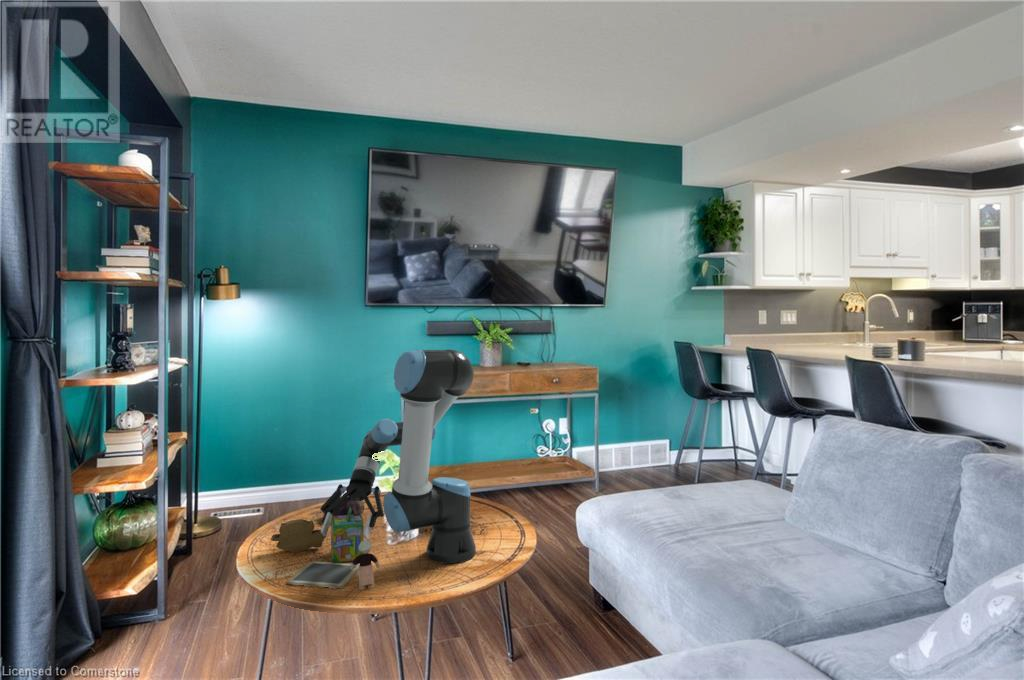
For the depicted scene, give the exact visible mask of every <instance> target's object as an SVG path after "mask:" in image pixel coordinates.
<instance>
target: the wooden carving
mask: <svg viewBox="0 0 1024 680" xmlns="http://www.w3.org/2000/svg"><path fill="white" fill-rule="evenodd" d="M278 532H279V533H274V534H273V535H271V538H270V541H272V542H277V543H276V546H275V547H276V548H277V549H279V550H283V551H286V552H289V553H298V552H304V551H306V550H308V549H310V548H314V549H315V548H322V547H323V542H324V540H325V538H326V537H327V535H326V536H323V535H322V533H321V529H315V523H314V521H313V520H307V519H302V518H298V519H292V520H289V521H286V522H285V523H283V522H282V523H281V524H280V526H279V529H278Z"/></svg>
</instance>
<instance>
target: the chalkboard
mask: <svg viewBox="0 0 1024 680" xmlns="http://www.w3.org/2000/svg"><path fill="white" fill-rule="evenodd" d="M351 565H352V563H345V562H339V563H333V562H329V561H328V562H326V561H314V560H313V561H312V560H311V561H309V563H307V564H306V565H305V566H303V567H301V569H300V570H298V571H297V572H296V573H295V574H293V575H292V576H291V577H290V578H289V579H287V580H286V581H285V585H286V584H294V585H293V586H298V585H304V586H303V587H310V586H318V587H317V588H323V587H329V588H328V589H336V588H340V589H339V590H341V589H343V588H344V587H345V586H346V584H348V583H349V581H351V580H352V578H354V577H355V575H356V574H358V573H359V565H360V564H357V565H355V567H354V569H353V570H351V569H350V567H351Z"/></svg>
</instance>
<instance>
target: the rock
mask: <svg viewBox="0 0 1024 680" xmlns="http://www.w3.org/2000/svg"><path fill="white" fill-rule="evenodd" d="M341 497H342V496H340V498H341ZM348 497H349V496H347V498H348ZM340 498H339V499H340ZM349 507H351V510H352V512H351V515H354V514H361V515H362V514H364V510H365V505H364V504H363V503H361V501H352V500H351V501H349V502H347V503H345V504H344V505H343V506H342V507H340V508H339V509H338V510H336V511H335V512H334V513H333V514H331V515H332V516H343V515H347V514H348V511H349ZM349 514H350V512H349Z"/></svg>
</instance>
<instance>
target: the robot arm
mask: <svg viewBox="0 0 1024 680" xmlns="http://www.w3.org/2000/svg"><path fill="white" fill-rule="evenodd" d="M393 380H394V381H393V382H394V388H395V389H396V391H397V392H398V393H400V398H401V399H402V400H403V402H404V409H403V410H404V411H403V421H399V422H397V421H396V422H395V421H394V420H392V419H389V418H383V419H379V420H378V421H377V423H375V424H374V425H373V427H372V429H371V430H369V431H367V432H366V434H365V436H364V438H363V440H362V443H361V444H362V445H361V448H360V450H359V454H358V456H357V459H356V462H355V465H354V467H353V471H352V474H351V476H350V479H349V483H348V485H347V486H345V485H343V484H341V483H340V484H338V486H337V488H336V490H334V492H333V493H332V494H331V496H330V497H329V498H328V499H327V500H326V501H325V502H324V503H323V504H322V505H321V506H320V507H319V508H320V511H321V512H322V513H323V514H324V515H323V517H322V520H321V523H322V527H321V529H320V530H321V533H322V535H323V536H326V537H327V534H328V532H329V529H330V527H331V519H332V514H333V513H334V512H335V511H336V510H338V509H339V508H340V507H342V506H343V505H344V504H345V503H347V502H349V501H351V500H352V501H360V502H362V501H365V503H366V506H367V507H368V509H369V511H370V513H371V514H368V517H367V520H366V523H365V526H364V528H363V538H365V540H368V539H369V536H370V533H371V530H372V528H374V527H375V526H376V522H377V519H378V518H380V517H381V518H382V517H384V516H385V518H386V521H387V524H388V526H389V527H390V529H391V530H392V531H394V532H396V533H401V532H410V531H412V530H417V529H422V528H426V527H427V528H428V527H431V526H432V529H431V532H430V537H429V539H428V542H427V545H426V557H427V559H429V560H430V561H433V562H436V563H441V564H456V563H462V562H463V563H464V562H466V561H469V560H471V559H473V558H474V557H475V556H476V550H477V549H476V548H477V547H476V543H475V540H474V537H473V534H472V530H471V497H472V496H471V488H470V487H471V486H470V483H468V482H467V481H466V480H464V479H460V478H455V477H435V478H433V479H432V481H429V472H430V461H431V453H432V452H431V451H432V441H433V440H434V439H435V438H436V434H437V427H436V426H437V424H438V423H439V422H440V421H441V420H442V418H443V417H444V415H445V414H446V413H447V412H448V411H449V409H450V408H451V406H452V405H453V404H454V403H455V402H456V400H457V399H458V397H462V396H464V395H465V394H467V392H468V390H469V389H470V387H471V386H472V384H473V381H474V368H473V364H472V361H471V360H470V358H469V357H467V356H466V355H465V354H464V353H463V352H462V351H459V350H456V349H416V350H408V351H405V352H403V353H401V354H400V356H399V357H398V359H397V360H396V363H395V366H394V371H393ZM395 446H401V447H400V456H399V457H400V458H399V466H398V468H399V469H398V477H397V479H395V480H394V481H393V483H392V488H391V491H389V492H386V493H385V494H384V496H383V502H382V500H381V489H380V486H378V485H376V486H375V487H374V482H375V480H376V476H377V474H378V470H379V466H380V462H381V461H375V460H378V459H375V460H373V459H372V455H373V454H374V453H378V452H381V451H384V452H385V451H386V450H387V449H388V448H389V447H395ZM375 457H377V456H375ZM373 458H374V457H373ZM371 494H372V495H374V499H375V505H376V509H377V511H376V510H375V508H374V505H373V504H372V503H371V501H370V499H369V497H368V496H370V495H371ZM347 496H349V497H348V498H347ZM340 497H341V498H340ZM339 498H340V499H339ZM382 503H383V504H382Z"/></svg>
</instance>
